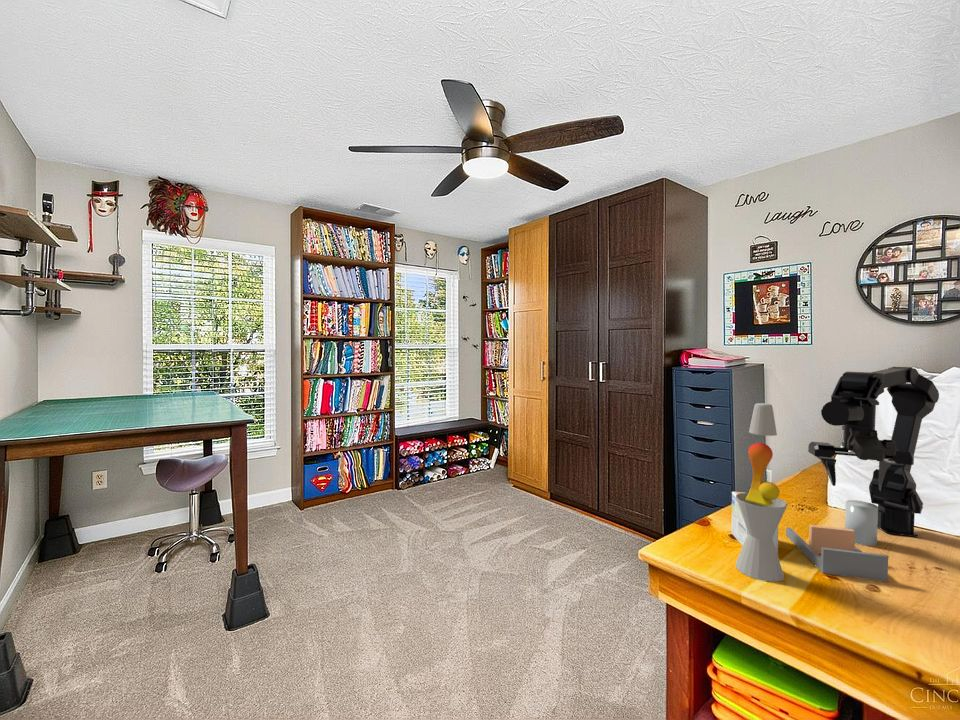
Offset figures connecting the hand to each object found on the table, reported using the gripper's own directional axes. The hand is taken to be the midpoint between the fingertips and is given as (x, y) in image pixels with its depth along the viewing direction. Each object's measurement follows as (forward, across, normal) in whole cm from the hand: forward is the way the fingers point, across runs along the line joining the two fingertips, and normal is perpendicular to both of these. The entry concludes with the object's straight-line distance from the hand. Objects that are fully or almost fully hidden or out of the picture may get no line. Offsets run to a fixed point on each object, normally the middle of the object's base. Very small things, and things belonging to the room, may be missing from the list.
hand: (856, 488), depth 107 cm
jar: (+13, +2, +2) cm, 13 cm away
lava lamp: (+14, -25, -26) cm, 38 cm away
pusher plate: (+13, -8, -11) cm, 19 cm away
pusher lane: (+13, -8, -11) cm, 19 cm away
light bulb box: (+14, -23, -11) cm, 29 cm away
